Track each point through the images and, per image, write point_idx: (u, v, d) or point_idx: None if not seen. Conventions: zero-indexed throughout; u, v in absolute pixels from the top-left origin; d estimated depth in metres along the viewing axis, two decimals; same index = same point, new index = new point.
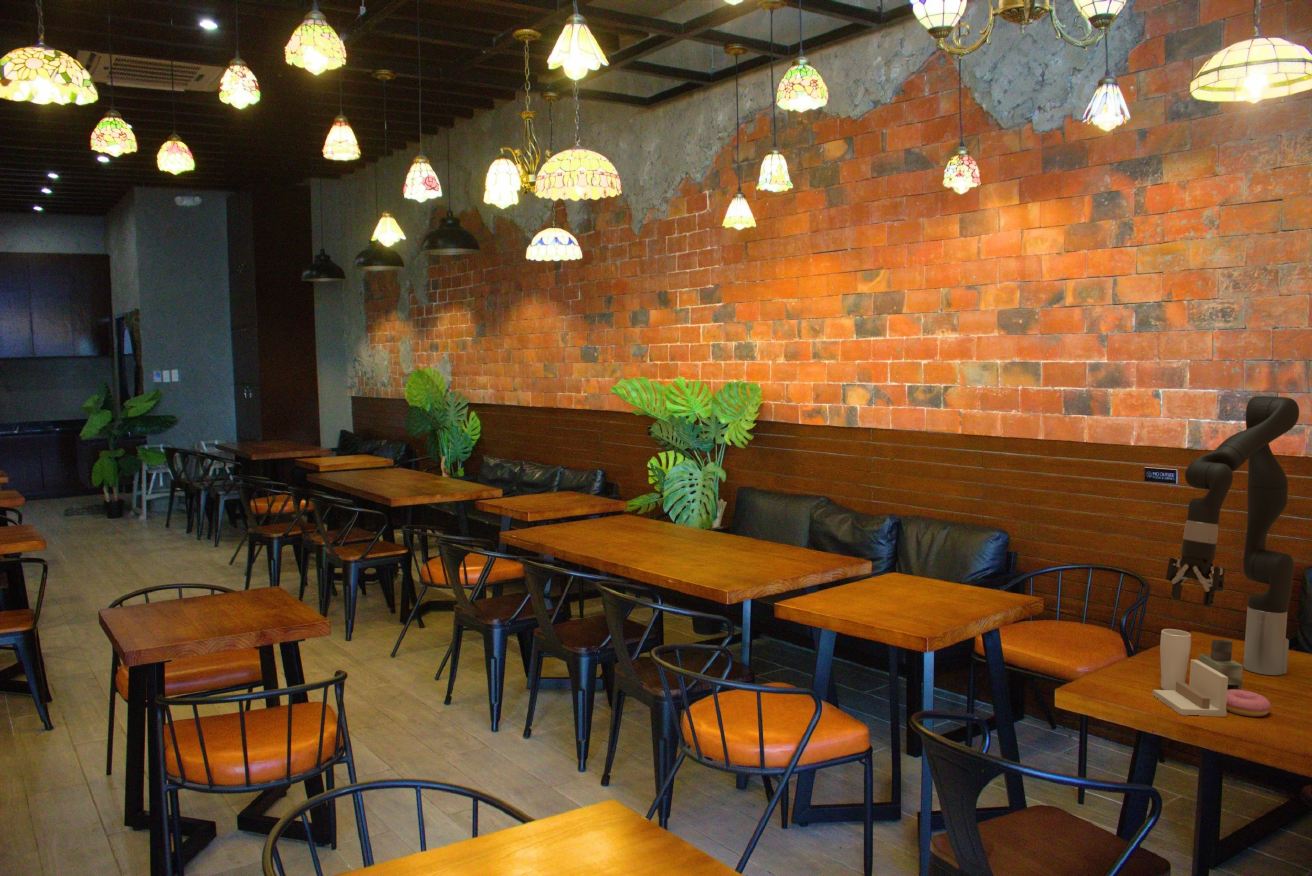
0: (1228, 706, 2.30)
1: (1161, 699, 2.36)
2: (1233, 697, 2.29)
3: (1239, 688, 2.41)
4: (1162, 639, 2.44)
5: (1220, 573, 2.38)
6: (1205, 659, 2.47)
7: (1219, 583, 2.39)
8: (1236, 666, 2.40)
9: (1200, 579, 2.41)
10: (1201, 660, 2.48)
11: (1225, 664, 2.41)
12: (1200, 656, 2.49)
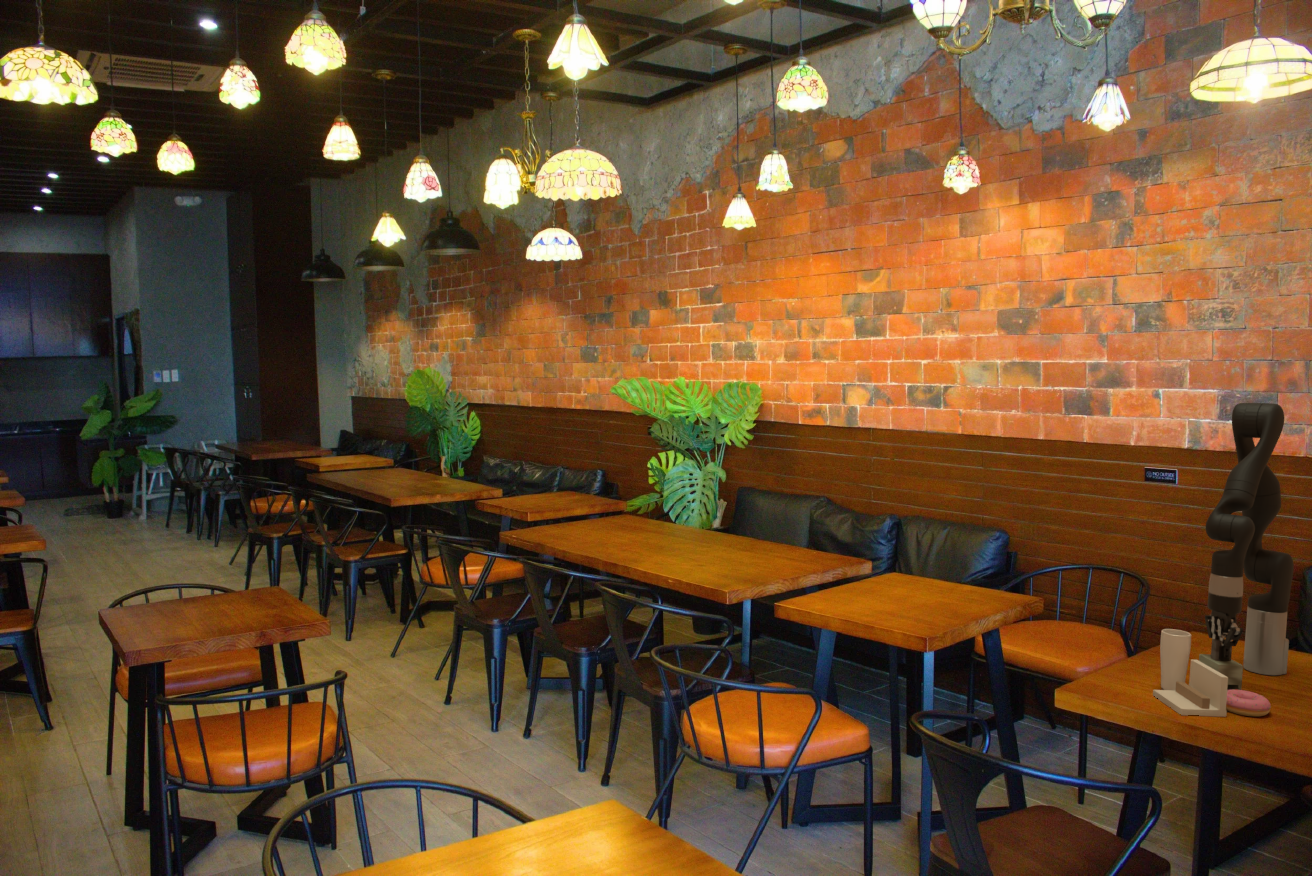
0: (1228, 706, 2.29)
1: (1161, 699, 2.36)
2: (1233, 697, 2.29)
3: (1239, 688, 2.41)
4: (1162, 639, 2.44)
5: (1235, 634, 2.38)
6: (1205, 659, 2.47)
7: None
8: (1236, 666, 2.40)
9: (1219, 632, 2.43)
10: (1201, 660, 2.48)
11: (1225, 664, 2.41)
12: (1200, 656, 2.49)
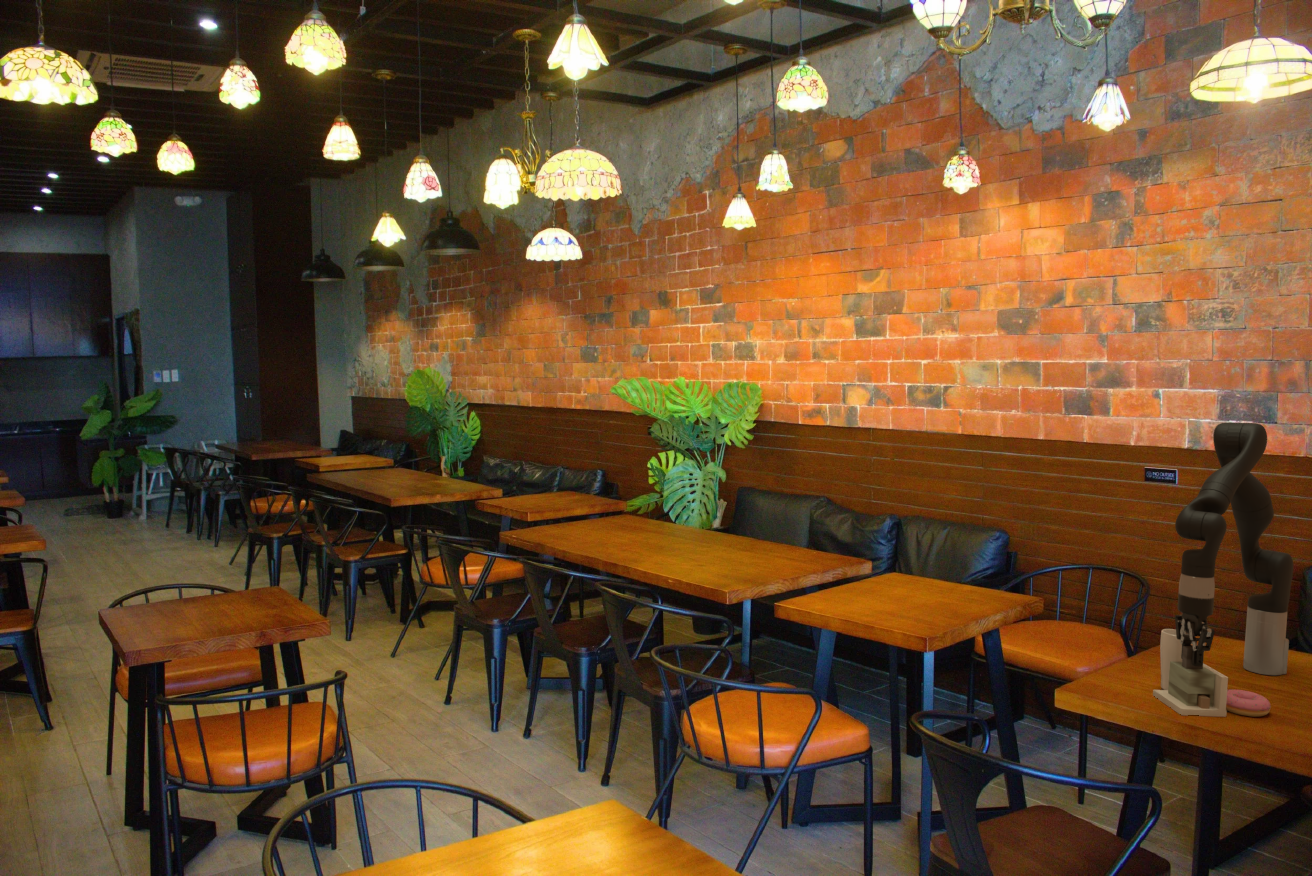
0: (1228, 706, 2.29)
1: (1161, 699, 2.36)
2: (1233, 697, 2.29)
3: (1211, 697, 2.29)
4: (1162, 639, 2.44)
5: (1207, 635, 2.26)
6: (1176, 667, 2.34)
7: (1207, 643, 2.27)
8: (1208, 674, 2.28)
9: (1190, 636, 2.30)
10: (1172, 668, 2.36)
11: (1196, 672, 2.29)
12: (1171, 663, 2.37)
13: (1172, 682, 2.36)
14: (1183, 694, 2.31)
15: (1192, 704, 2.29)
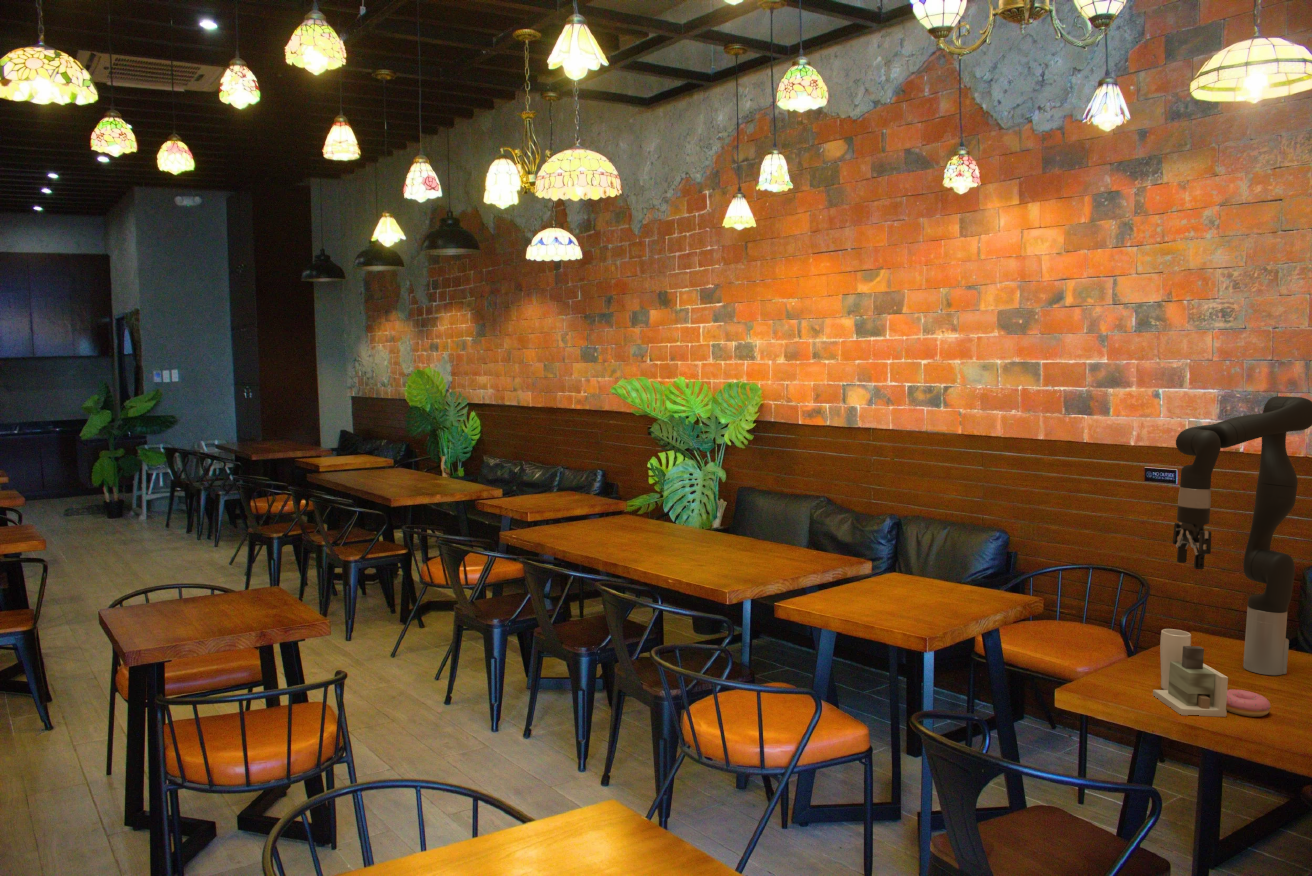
0: (1228, 706, 2.29)
1: (1161, 699, 2.36)
2: (1233, 697, 2.29)
3: (1211, 697, 2.29)
4: (1162, 639, 2.44)
5: (1205, 537, 2.46)
6: (1176, 667, 2.34)
7: (1207, 546, 2.47)
8: (1208, 674, 2.28)
9: (1190, 543, 2.50)
10: (1172, 668, 2.36)
11: (1196, 672, 2.29)
12: (1171, 663, 2.37)
13: (1172, 682, 2.36)
14: (1183, 694, 2.31)
15: (1192, 704, 2.29)
